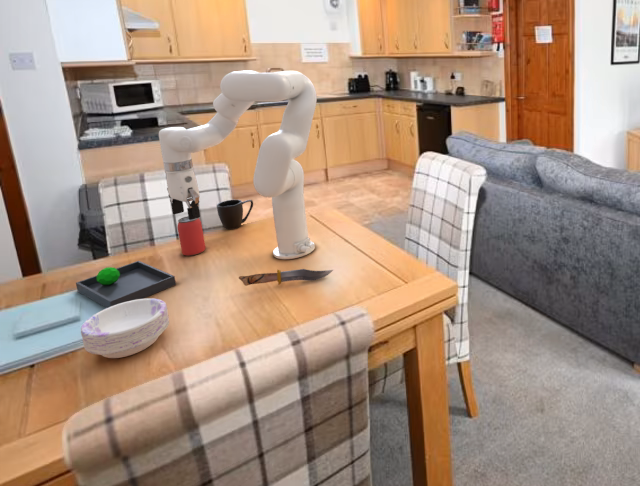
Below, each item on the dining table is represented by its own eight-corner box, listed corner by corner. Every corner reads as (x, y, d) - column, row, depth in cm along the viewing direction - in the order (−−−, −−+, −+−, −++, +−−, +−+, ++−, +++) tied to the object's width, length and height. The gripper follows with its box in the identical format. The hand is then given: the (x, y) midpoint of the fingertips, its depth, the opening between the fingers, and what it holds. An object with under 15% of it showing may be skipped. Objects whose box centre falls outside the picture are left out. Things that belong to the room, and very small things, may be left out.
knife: (334, 276, 137) (333, 260, 136) (334, 278, 136) (332, 262, 135) (241, 290, 130) (239, 274, 129) (240, 293, 129) (237, 276, 128)
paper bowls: (187, 332, 111) (181, 302, 110) (116, 374, 97) (109, 341, 96) (143, 320, 116) (137, 292, 115) (71, 359, 102) (63, 327, 101)
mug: (258, 223, 179) (255, 200, 176) (223, 232, 171) (219, 208, 169) (252, 218, 184) (249, 195, 182) (218, 226, 176) (214, 203, 174)
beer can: (189, 248, 158) (183, 215, 155) (210, 247, 158) (204, 214, 156) (177, 257, 151) (171, 222, 149) (198, 256, 152) (192, 221, 149)
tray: (176, 284, 134) (174, 276, 133) (112, 311, 121) (110, 301, 120) (140, 268, 144) (138, 260, 143) (77, 291, 131) (75, 282, 130)
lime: (107, 288, 130) (104, 273, 129) (93, 287, 131) (90, 272, 130) (125, 280, 135) (122, 265, 134) (112, 278, 136) (108, 263, 135)
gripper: (205, 166, 147) (213, 216, 151) (177, 159, 156) (184, 207, 159) (180, 172, 141) (188, 224, 145) (151, 164, 149) (160, 214, 153)
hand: (186, 215), depth 152 cm, fingers open, 9 cm apart
